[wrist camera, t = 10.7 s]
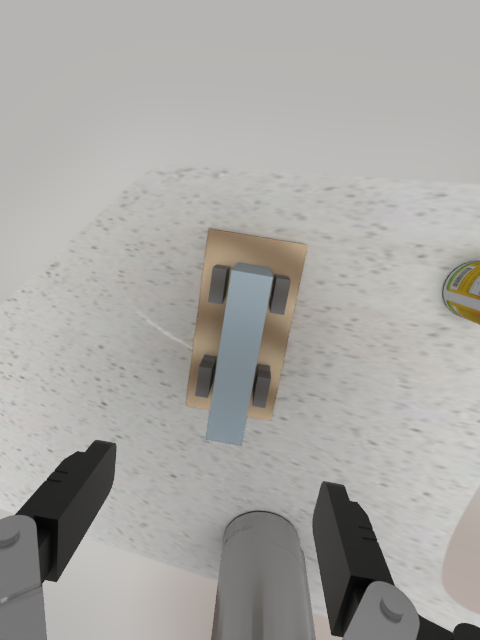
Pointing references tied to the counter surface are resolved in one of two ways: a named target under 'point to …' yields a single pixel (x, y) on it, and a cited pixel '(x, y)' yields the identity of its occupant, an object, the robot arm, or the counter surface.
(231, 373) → the blue grey rectangular block
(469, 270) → the supplement bottle
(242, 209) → the counter surface
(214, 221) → the counter surface
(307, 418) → the counter surface
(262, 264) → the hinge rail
